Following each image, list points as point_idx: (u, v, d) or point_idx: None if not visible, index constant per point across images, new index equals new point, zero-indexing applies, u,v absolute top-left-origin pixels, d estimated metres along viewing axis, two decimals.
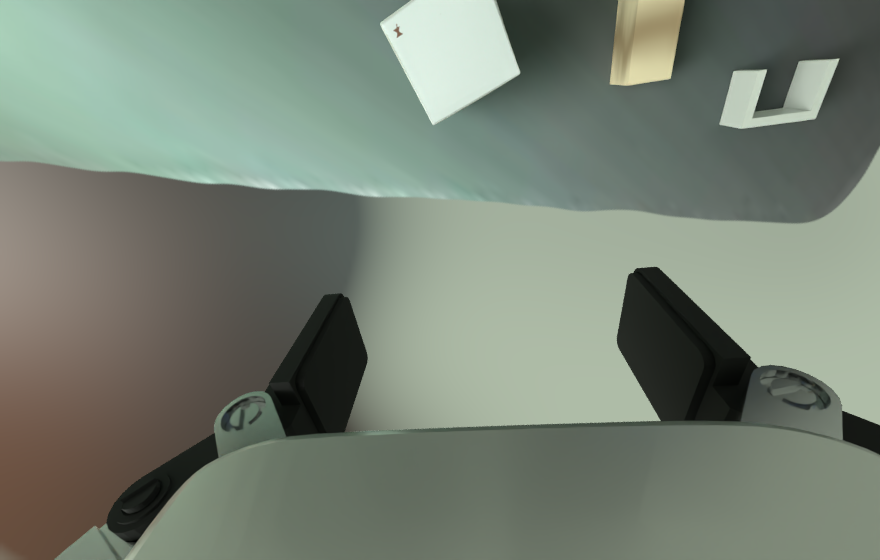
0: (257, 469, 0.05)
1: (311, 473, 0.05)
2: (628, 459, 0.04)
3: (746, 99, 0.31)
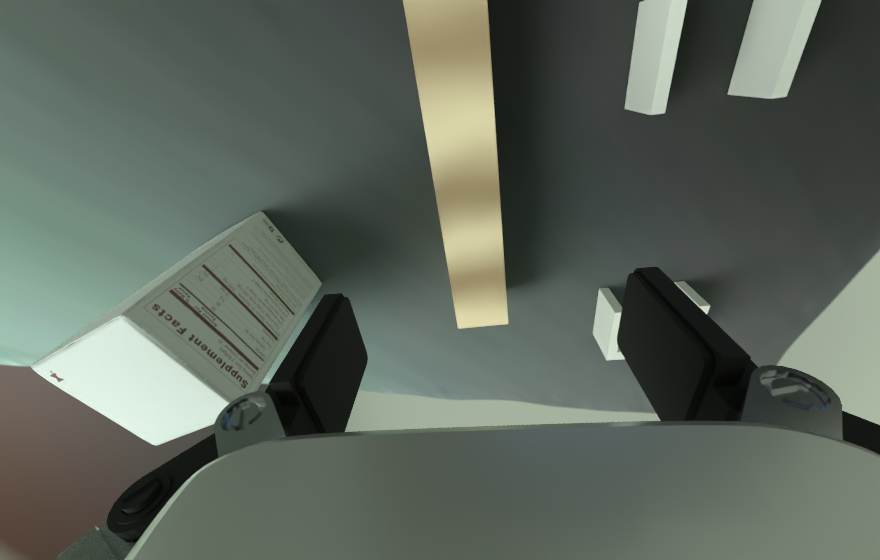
0: (257, 468, 0.05)
1: (311, 473, 0.05)
2: (628, 460, 0.04)
3: (608, 332, 0.26)
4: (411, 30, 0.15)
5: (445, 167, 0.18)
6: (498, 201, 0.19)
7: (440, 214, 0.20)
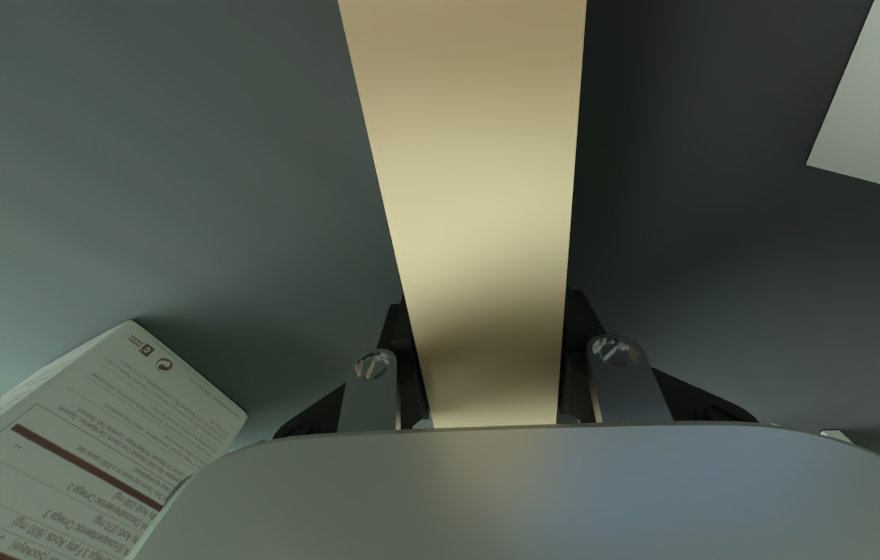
0: (258, 467, 0.05)
1: (311, 473, 0.05)
2: (628, 460, 0.04)
3: None
4: None
5: (441, 312, 0.08)
6: (555, 375, 0.09)
7: (428, 389, 0.09)
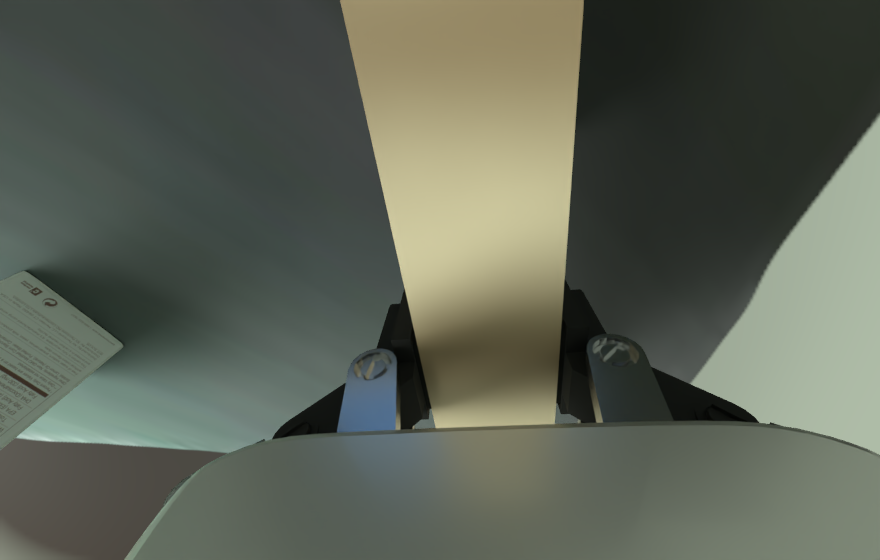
0: (258, 468, 0.05)
1: (311, 473, 0.05)
2: (628, 459, 0.04)
3: None
4: None
5: (442, 311, 0.08)
6: (554, 373, 0.09)
7: (429, 387, 0.09)
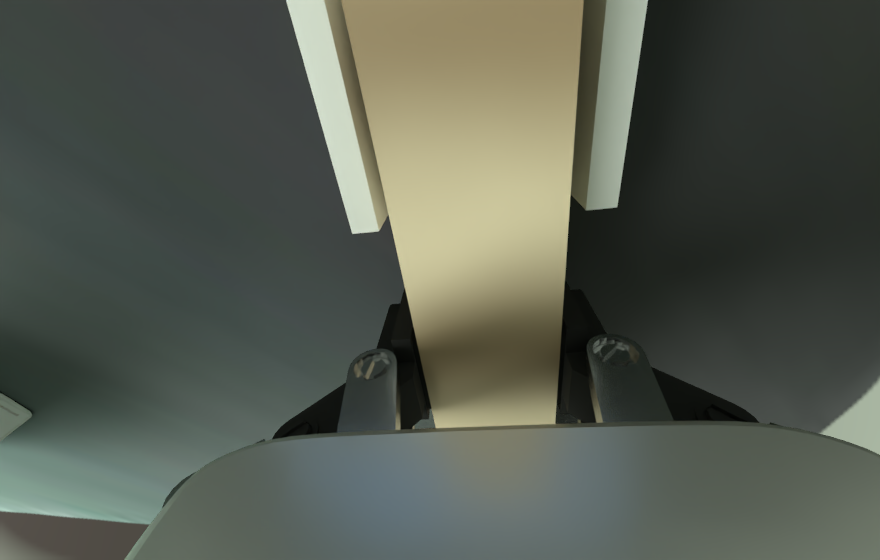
0: (257, 468, 0.05)
1: (311, 473, 0.05)
2: (628, 459, 0.04)
3: None
4: None
5: (442, 309, 0.08)
6: (554, 372, 0.09)
7: (429, 386, 0.09)
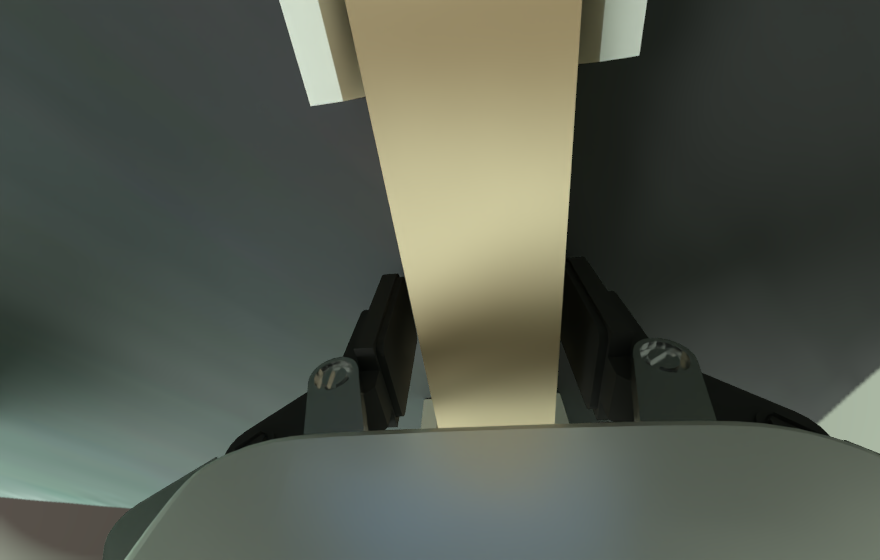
0: (257, 468, 0.05)
1: (311, 473, 0.05)
2: (628, 459, 0.04)
3: None
4: None
5: (443, 305, 0.08)
6: (554, 367, 0.09)
7: (431, 381, 0.10)
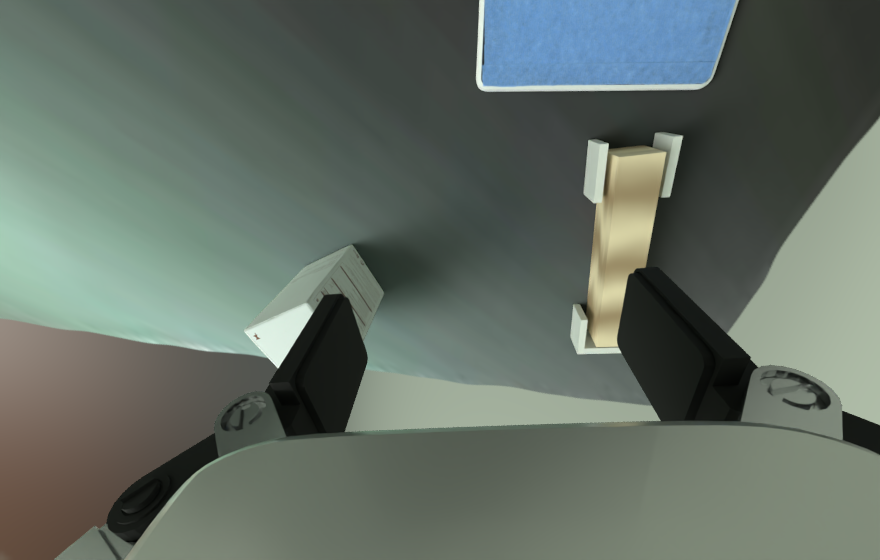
0: (258, 468, 0.05)
1: (311, 473, 0.05)
2: (628, 459, 0.04)
3: (578, 334, 0.38)
4: (617, 186, 0.28)
5: (616, 252, 0.31)
6: None
7: (605, 277, 0.33)
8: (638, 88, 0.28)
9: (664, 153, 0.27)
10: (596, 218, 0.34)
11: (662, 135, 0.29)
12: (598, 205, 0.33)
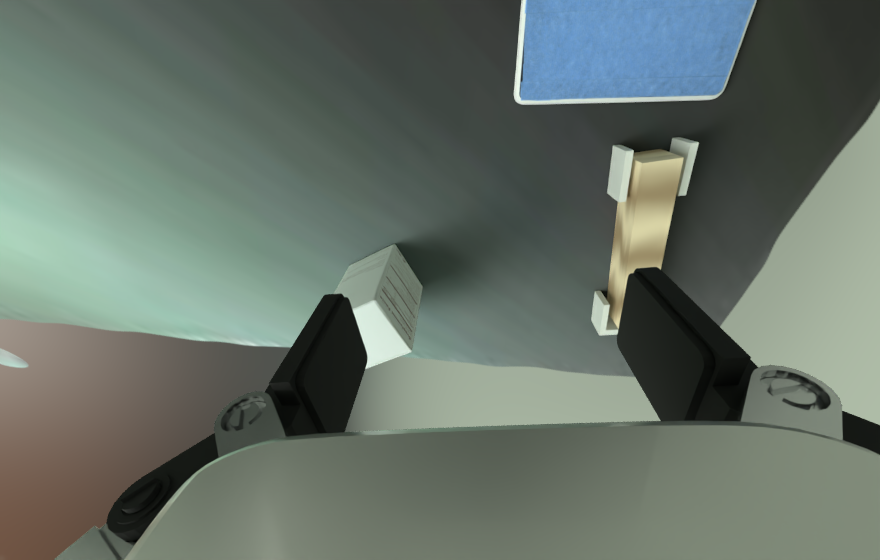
0: (258, 468, 0.05)
1: (311, 473, 0.05)
2: (629, 459, 0.04)
3: (600, 318, 0.42)
4: (640, 188, 0.32)
5: (638, 244, 0.35)
6: (661, 261, 0.36)
7: (627, 267, 0.37)
8: (659, 100, 0.32)
9: (682, 158, 0.31)
10: (617, 214, 0.38)
11: (679, 141, 0.33)
12: (620, 203, 0.37)
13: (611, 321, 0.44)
